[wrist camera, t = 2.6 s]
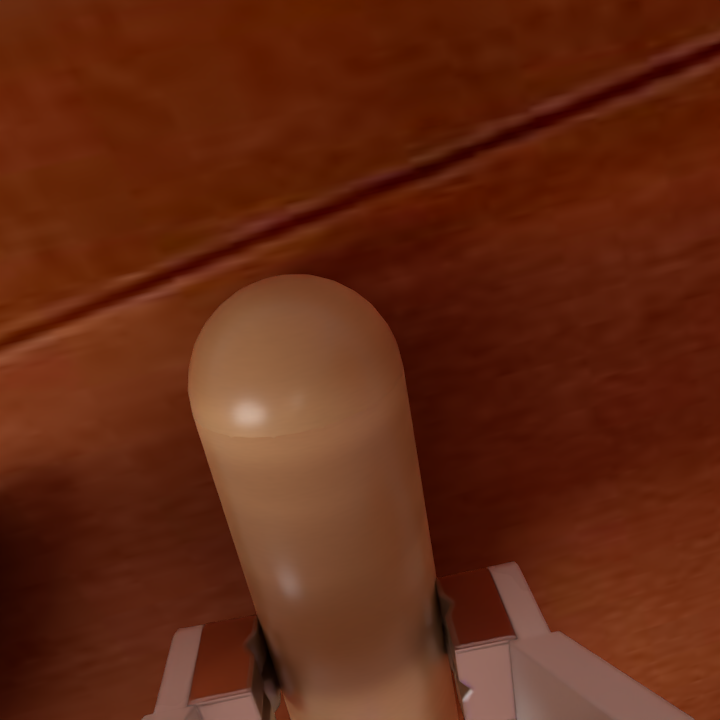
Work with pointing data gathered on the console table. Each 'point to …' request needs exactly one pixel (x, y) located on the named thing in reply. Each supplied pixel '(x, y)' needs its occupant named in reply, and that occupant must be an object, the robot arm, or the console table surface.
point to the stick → (324, 497)
